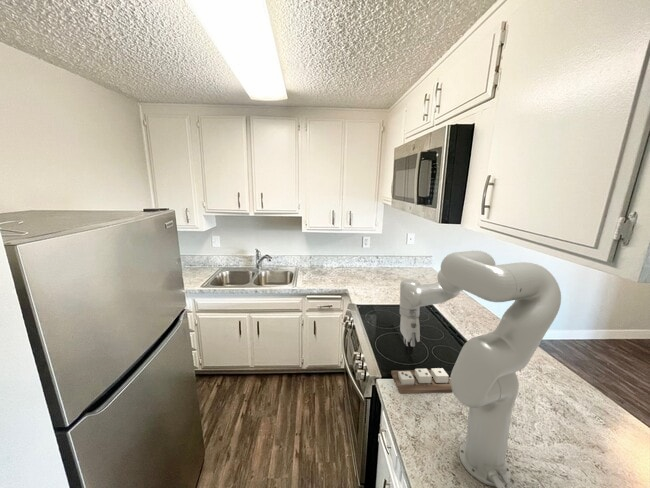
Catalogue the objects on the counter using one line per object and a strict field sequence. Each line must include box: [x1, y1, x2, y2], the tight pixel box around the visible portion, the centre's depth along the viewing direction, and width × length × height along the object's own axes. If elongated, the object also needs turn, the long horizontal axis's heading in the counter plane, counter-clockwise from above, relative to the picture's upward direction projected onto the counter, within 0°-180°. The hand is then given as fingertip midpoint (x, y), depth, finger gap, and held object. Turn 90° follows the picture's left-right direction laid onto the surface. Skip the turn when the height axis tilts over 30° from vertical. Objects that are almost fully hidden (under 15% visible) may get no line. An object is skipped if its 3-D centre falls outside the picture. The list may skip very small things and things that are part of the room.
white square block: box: [397, 370, 414, 385], centre depth 107 cm, size 5×5×3 cm
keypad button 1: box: [430, 367, 450, 384], centre depth 107 cm, size 5×5×3 cm
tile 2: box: [414, 368, 433, 384], centre depth 107 cm, size 5×5×3 cm
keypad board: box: [390, 369, 453, 395], centre depth 107 cm, size 12×23×2 cm, turn 91°
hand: (408, 353), depth 105 cm, fingers closed
